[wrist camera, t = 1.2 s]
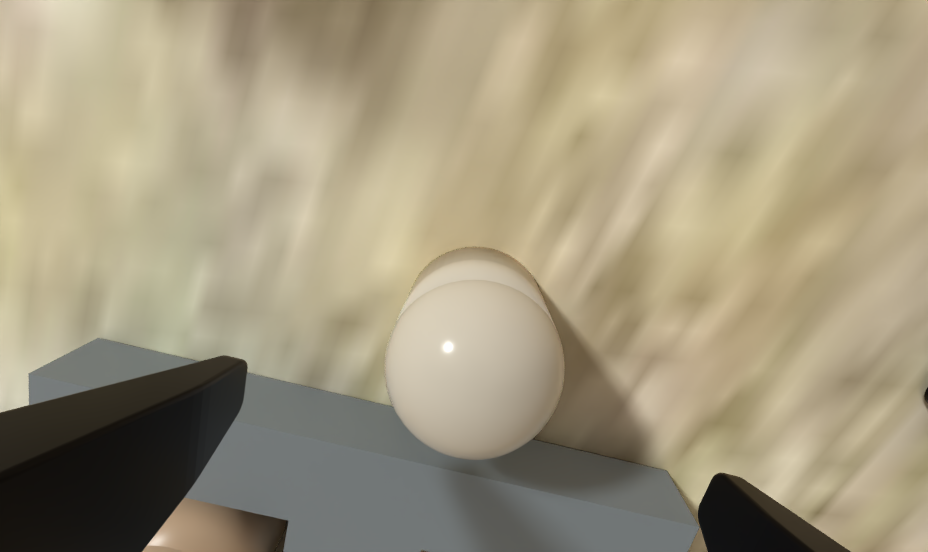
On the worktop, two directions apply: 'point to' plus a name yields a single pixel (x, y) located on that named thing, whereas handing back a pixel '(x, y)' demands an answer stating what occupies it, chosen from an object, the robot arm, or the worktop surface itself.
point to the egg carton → (383, 479)
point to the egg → (474, 356)
